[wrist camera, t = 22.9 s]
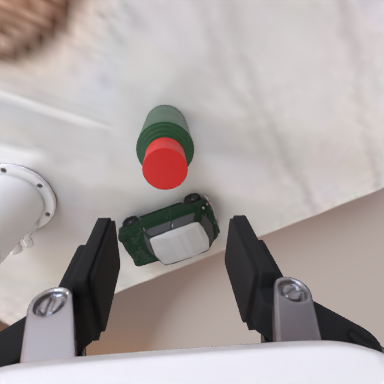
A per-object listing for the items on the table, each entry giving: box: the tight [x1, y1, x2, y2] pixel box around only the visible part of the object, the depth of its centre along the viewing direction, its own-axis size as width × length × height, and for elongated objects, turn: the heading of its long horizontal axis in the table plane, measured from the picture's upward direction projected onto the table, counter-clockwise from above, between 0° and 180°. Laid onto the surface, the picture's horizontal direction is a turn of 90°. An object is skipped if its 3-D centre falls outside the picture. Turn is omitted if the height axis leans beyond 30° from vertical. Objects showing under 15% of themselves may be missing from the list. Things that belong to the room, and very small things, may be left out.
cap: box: [142, 137, 188, 190], centre depth 24 cm, size 4×4×4 cm
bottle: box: [136, 105, 194, 167], centre depth 31 cm, size 6×6×18 cm
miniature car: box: [118, 193, 220, 266], centre depth 43 cm, size 9×18×8 cm, turn 110°
